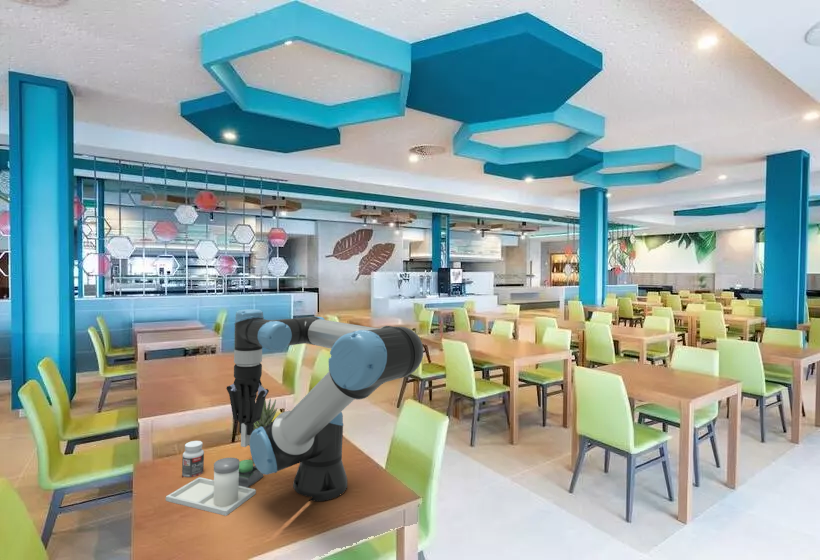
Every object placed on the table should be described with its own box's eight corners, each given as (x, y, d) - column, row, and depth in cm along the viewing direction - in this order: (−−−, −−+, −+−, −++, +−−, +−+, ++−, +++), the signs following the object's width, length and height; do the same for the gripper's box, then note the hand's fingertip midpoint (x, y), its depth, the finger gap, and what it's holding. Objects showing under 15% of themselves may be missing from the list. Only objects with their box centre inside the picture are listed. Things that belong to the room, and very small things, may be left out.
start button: (256, 467, 127) (256, 460, 127) (246, 473, 124) (247, 466, 124) (244, 465, 129) (244, 458, 129) (235, 471, 125) (235, 464, 125)
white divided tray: (258, 497, 120) (259, 488, 120) (225, 522, 107) (225, 513, 107) (199, 483, 126) (200, 475, 126) (161, 506, 113) (161, 497, 113)
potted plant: (254, 453, 147) (256, 380, 147) (282, 454, 147) (284, 381, 146) (242, 466, 137) (244, 388, 137) (272, 467, 137) (274, 389, 136)
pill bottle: (194, 482, 126) (195, 448, 126) (177, 480, 127) (178, 446, 127) (207, 473, 132) (208, 441, 132) (191, 471, 133) (191, 439, 133)
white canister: (243, 496, 117) (244, 459, 117) (227, 508, 111) (228, 469, 111) (224, 492, 119) (225, 456, 119) (207, 503, 113) (208, 465, 113)
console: (263, 480, 129) (263, 467, 128) (247, 492, 122) (247, 478, 122) (243, 476, 131) (243, 463, 131) (226, 487, 124) (227, 473, 124)
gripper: (275, 363, 127) (273, 443, 128) (238, 358, 131) (236, 436, 132) (259, 368, 120) (256, 453, 121) (220, 363, 124) (218, 446, 125)
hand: (246, 444), depth 126 cm, fingers closed
